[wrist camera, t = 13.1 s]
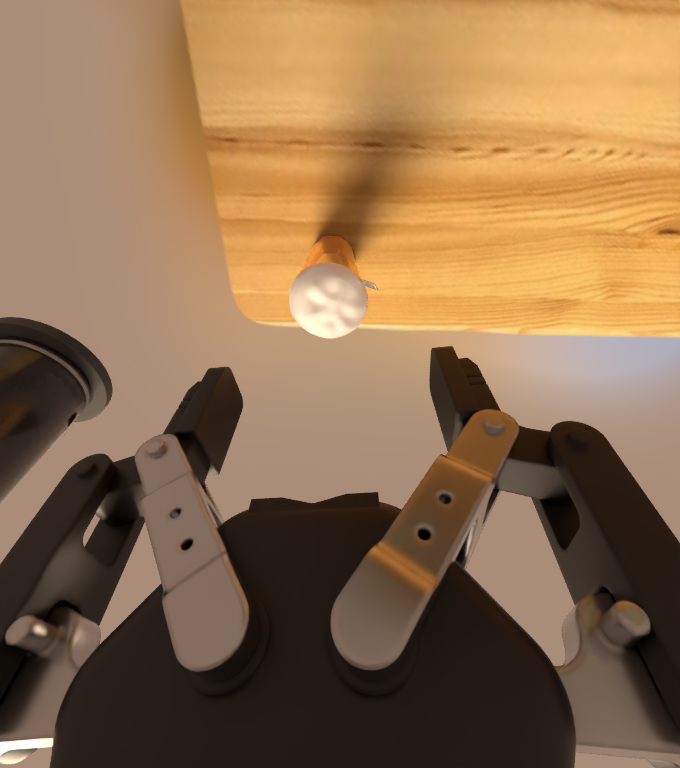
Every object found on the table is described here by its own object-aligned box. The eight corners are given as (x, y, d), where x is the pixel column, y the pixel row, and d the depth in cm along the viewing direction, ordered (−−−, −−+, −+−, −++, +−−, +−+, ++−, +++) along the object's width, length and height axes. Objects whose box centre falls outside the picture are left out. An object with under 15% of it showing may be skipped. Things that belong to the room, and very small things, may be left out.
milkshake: (382, 258, 26) (398, 320, 18) (326, 296, 28) (318, 367, 20) (349, 204, 23) (351, 248, 16) (290, 249, 25) (266, 308, 18)
